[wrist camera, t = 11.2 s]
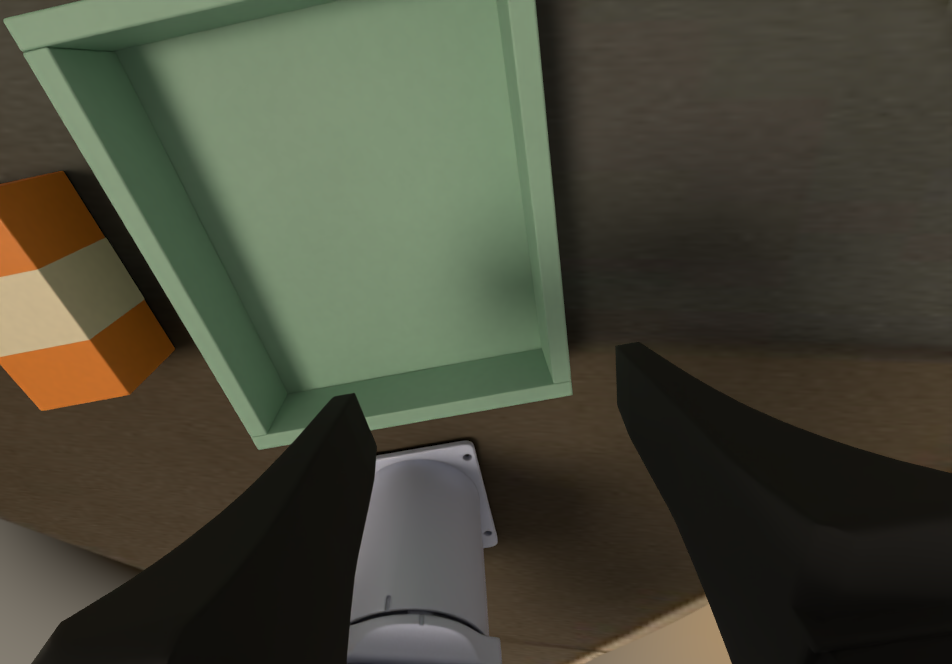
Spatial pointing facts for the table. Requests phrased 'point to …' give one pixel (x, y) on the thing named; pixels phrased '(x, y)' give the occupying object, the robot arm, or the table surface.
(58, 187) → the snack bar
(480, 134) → the tub
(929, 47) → the table surface
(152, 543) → the table surface
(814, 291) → the table surface
